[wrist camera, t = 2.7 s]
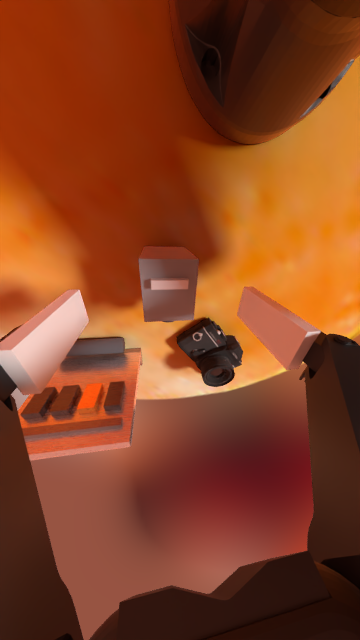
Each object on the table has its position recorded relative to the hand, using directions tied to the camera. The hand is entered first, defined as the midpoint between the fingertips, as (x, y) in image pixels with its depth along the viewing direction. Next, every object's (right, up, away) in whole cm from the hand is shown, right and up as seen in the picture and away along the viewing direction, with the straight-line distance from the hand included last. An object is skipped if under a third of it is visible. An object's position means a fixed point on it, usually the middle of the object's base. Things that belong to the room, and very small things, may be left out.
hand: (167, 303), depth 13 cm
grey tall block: (-1, +5, +8) cm, 10 cm away
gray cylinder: (-13, -5, +13) cm, 19 cm away
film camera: (+7, -6, +17) cm, 19 cm away
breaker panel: (-12, -7, +14) cm, 20 cm away
